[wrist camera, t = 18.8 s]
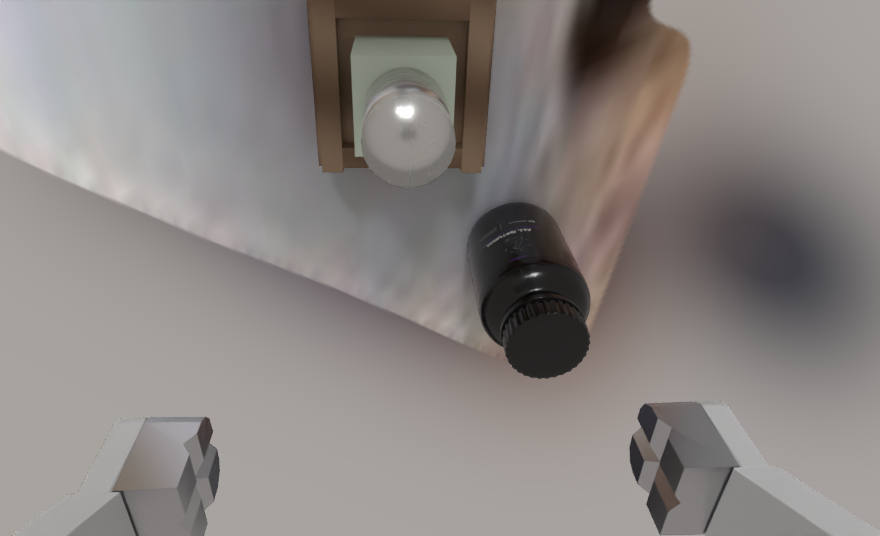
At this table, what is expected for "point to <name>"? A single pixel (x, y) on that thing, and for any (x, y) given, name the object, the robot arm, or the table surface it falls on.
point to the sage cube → (394, 52)
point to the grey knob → (407, 128)
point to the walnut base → (399, 14)
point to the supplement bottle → (529, 290)
